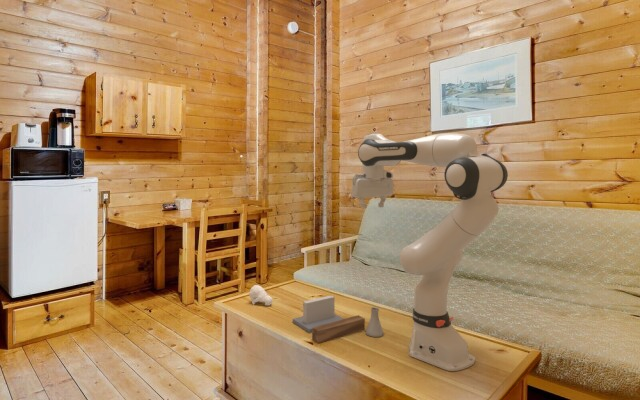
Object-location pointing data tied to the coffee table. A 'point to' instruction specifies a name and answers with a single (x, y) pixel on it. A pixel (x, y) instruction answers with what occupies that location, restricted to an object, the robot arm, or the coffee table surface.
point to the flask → (374, 324)
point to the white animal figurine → (259, 295)
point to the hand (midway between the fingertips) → (372, 207)
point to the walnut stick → (338, 329)
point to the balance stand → (317, 313)
